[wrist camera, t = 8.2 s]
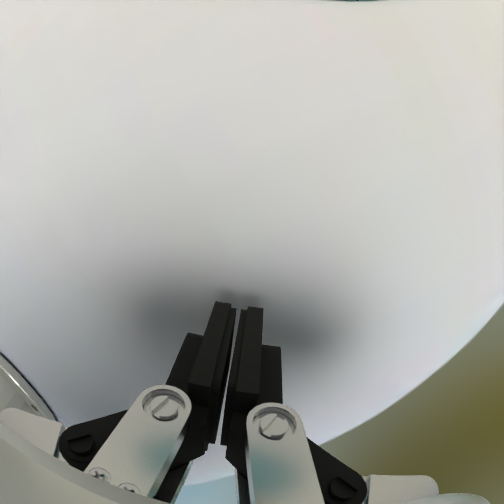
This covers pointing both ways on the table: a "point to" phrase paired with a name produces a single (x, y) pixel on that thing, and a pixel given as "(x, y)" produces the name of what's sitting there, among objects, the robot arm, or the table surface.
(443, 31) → the table surface
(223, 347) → the robot arm
